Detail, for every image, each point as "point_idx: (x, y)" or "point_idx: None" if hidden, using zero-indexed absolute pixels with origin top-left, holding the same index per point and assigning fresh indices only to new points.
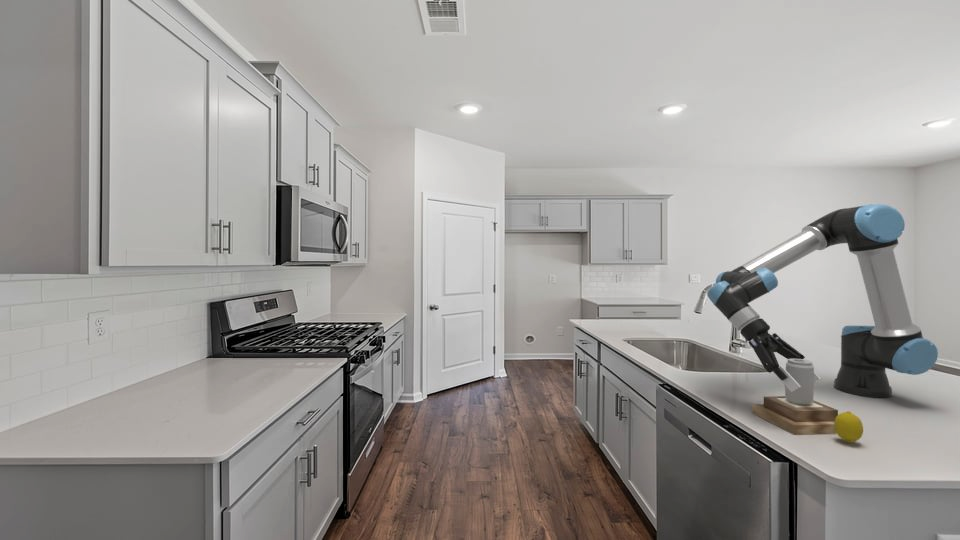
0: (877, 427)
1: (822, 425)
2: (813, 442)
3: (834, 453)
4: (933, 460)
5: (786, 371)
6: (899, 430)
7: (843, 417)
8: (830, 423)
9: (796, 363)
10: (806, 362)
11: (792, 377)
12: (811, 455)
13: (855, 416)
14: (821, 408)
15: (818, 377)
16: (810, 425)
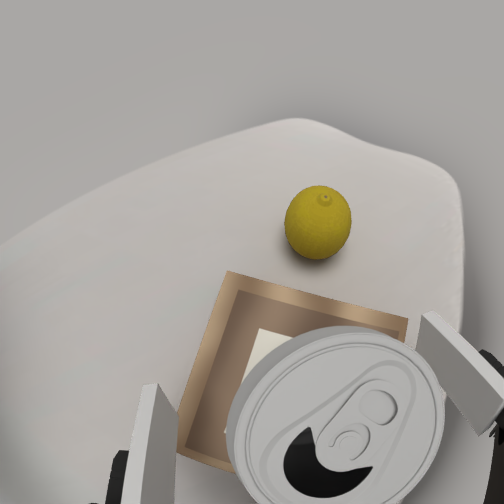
0: (121, 278)
1: (322, 297)
2: (392, 273)
3: (397, 221)
4: (236, 148)
5: (484, 370)
6: (103, 249)
7: (347, 207)
8: (288, 294)
9: (433, 394)
10: (355, 372)
11: (456, 346)
12: (444, 232)
13: (320, 187)
14: (278, 324)
15: (154, 391)
16: (360, 307)
